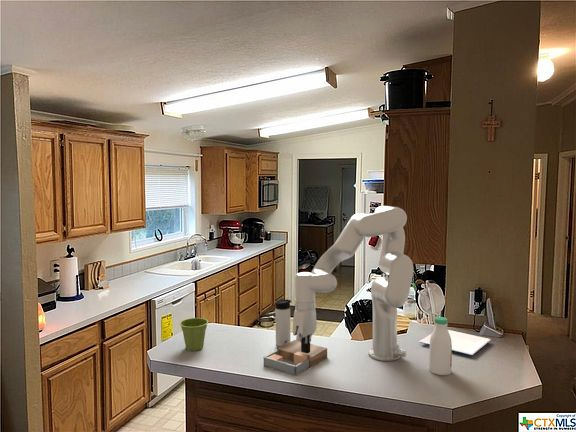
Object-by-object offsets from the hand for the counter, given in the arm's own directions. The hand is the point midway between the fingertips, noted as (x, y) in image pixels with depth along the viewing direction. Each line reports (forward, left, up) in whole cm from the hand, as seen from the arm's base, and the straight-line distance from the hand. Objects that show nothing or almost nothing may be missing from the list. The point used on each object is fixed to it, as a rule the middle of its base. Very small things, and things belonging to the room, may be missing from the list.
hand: (305, 352), depth 170 cm
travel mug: (+19, -10, -5) cm, 22 cm away
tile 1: (+9, +7, -2) cm, 12 cm away
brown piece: (+5, -4, -5) cm, 8 cm away
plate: (-39, -55, -5) cm, 68 cm away
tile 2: (0, +2, -2) cm, 3 cm away
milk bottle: (-43, -24, -5) cm, 50 cm away
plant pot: (+48, +14, -5) cm, 50 cm away
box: (+5, +6, -5) cm, 9 cm away
